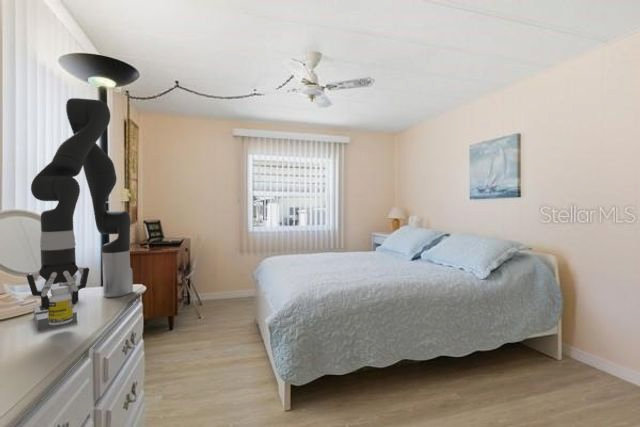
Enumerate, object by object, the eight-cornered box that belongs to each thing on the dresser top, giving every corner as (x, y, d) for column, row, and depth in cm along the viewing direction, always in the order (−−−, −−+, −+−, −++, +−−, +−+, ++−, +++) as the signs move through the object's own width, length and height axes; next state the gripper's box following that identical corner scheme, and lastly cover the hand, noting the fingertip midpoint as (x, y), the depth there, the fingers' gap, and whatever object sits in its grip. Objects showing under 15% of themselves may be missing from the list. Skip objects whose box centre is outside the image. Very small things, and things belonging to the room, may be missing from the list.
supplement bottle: (44, 326, 87) (42, 290, 87) (54, 319, 92) (53, 286, 92) (67, 324, 88) (66, 289, 88) (76, 317, 94) (75, 284, 93)
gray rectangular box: (32, 312, 106) (32, 301, 106) (66, 306, 112) (66, 295, 112) (37, 330, 91) (37, 317, 91) (77, 321, 98) (76, 309, 97)
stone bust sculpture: (79, 298, 122) (78, 269, 121) (72, 304, 114) (71, 274, 114) (61, 300, 119) (60, 271, 119) (53, 306, 112) (52, 275, 112)
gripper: (87, 243, 97) (88, 298, 98) (22, 248, 87) (25, 309, 88) (91, 245, 92) (93, 303, 93) (24, 251, 82) (26, 316, 82)
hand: (60, 306), depth 90 cm, fingers closed on supplement bottle, 5 cm apart
